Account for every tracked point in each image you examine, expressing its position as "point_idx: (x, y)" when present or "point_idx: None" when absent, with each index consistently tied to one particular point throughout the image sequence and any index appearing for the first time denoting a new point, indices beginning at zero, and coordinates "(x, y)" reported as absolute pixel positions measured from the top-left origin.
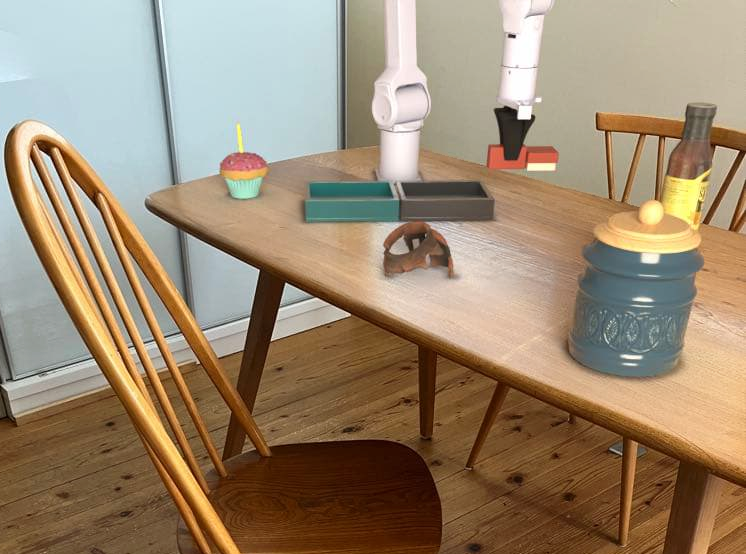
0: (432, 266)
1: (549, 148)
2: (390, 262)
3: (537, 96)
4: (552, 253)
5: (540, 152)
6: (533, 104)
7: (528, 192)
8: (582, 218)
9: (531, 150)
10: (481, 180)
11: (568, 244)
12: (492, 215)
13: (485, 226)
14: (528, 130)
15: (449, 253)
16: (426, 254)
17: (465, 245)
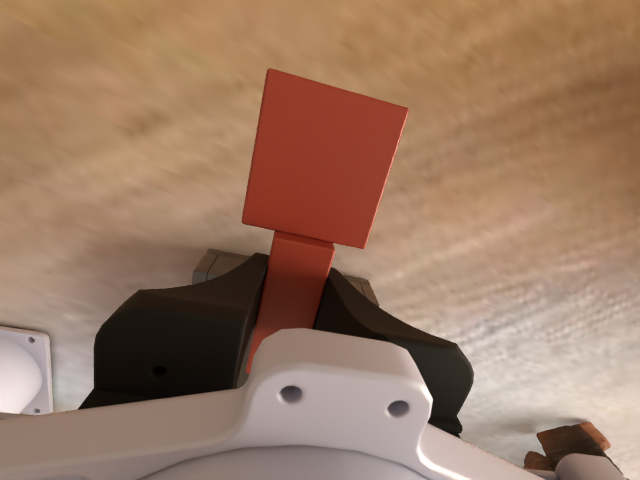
0: (537, 433)
1: (313, 112)
2: None
3: (341, 414)
4: (595, 249)
5: (375, 197)
6: (481, 450)
7: (143, 79)
8: (433, 48)
9: (327, 219)
10: (198, 275)
11: (574, 193)
12: (370, 286)
13: (398, 305)
14: (403, 322)
15: (606, 456)
16: (541, 455)
17: (479, 369)
